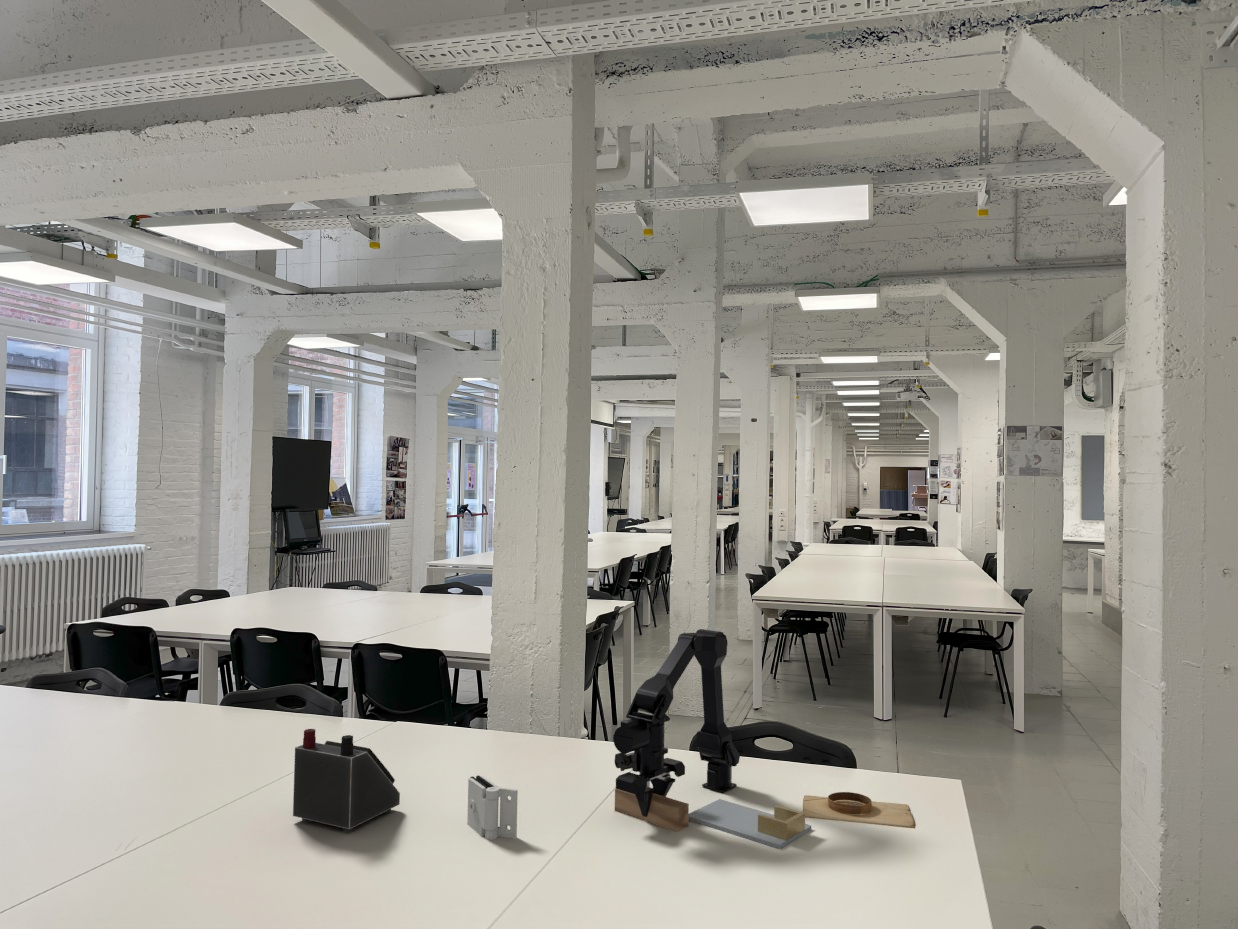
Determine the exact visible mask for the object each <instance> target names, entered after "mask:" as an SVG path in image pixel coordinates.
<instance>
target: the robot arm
mask: <svg viewBox="0 0 1238 929" xmlns="http://www.w3.org/2000/svg"><path fill="white" fill-rule="evenodd" d="M727 652H728V638H727V635H726V634H725V633H724V632H722V631H719V630H711V629H710V630H709V629H703V628H699V629H697V630H696V632H683V633H680V634H679V635H678V637H677V642H676V643H675V645H674V647H673V648H672V650H671V651H670V653H669V655H668V656H666V657H667V658H666V659H665V660H664V662H663V663H662V665H661V666H660V668H659V669H658V671H657V672H656V674H655V675H653V676H652V677H650V678H649V679H645V681H644V682H643V683H642V684H641V685H640V686H639V687H638V689H637V690H636V693H635V694H634V696H633V699H632V701H631V703H630V706H629V708H628V711H627V712H626V713H627V714H626V715H625V717H626V719H623V720H620V726H619V727H617V728H616V729H615V731H614V734H613V736H612V737H613V738H612V741H613V745H614V746H615V749H616V750H617V751H618V752H617V753H615V755H614V765H615V767H616V769H620V772H624V771H625V770H629V769H632V772H630V771H628V772H625V773H623V774H620V775H618V776H617V777H616V778H615V789H619V790H622V791H626V792H629V793H632V794H635V796H636V798H637V801H638V804H639V807H640V810H641V813H642V816H644V817H647V815H648V812H649V808H650V804H651V800H652V796H653V793H654V794H658V795H661V796H664V797H667V795H668V794H669V792H670V790H671V788H672V786H673V785H674V783H676V779H675V778H673V777H672V775H671V774H670V773H671V772H673V773H674V775H675V777H677V778H680V777H682V776H684V775H686V766H685V764H684V763H683V761H681V760H677V759H673V758H670V757H665V755H666V754H669V748H668V747H665V723H666V722H669V721H671V717H669V715H667V714H666V713H667V712H668V711H669V709H670V707H671V704H672V702H673V701H674V688H675V686H676V684H677V683H678V681H679V680H680V679H681V677H682V675H683V673H684V672H685V670H686V668H687V667H688V665H689V664H690V662H691V661H692V659H693V658H695V660H697V662H698V665H699V666H700V669H701V670H700V672H701V689H702V690H701V691H702V704H703V707H702V708H703V725H702V726H701V728H700V729H699V730H698V731H697V732H696V740H697V743H696V748H698V752H699V753H698V754H699V758H700V761H705V762H707V767H706V768H707V770H706V782H704V783H703V784H701V787H703V788H706V789H709V790H713V791H715V792H716V791H717V792H720V793H725V792H728V791H730V790H732V789H734V788H736V787H737V783H735V782H733V781H732V780H733V776H732V774H733V772H732V769H733V767H737V766H738V764H739V762H740V757H741V754H740V752H739V751H738V749H737V748H736V747H735V745H734V743H733V738H732V733H731V731H730V729H729V727H728V725H727V724H726V723H725V715H724V700H723V699H724V698H723V696H724V695H723V683H722V682H723V680H722V678H723V676H722V664H723V662H724V661H725V659H726V657H727V654H728V653H727ZM647 713H648V714H647ZM634 772H635V773H634ZM637 772H638V773H639V774H637ZM650 783H651V784H650ZM651 786H652V787H651Z"/></svg>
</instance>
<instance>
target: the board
mask: <svg viewBox="0 0 1238 929" xmlns="http://www.w3.org/2000/svg"><path fill="white" fill-rule="evenodd" d="M802 812H803V813H805V819H816V820H827V821H835V822H836V821H837V822H846V823H847V822H848V823H855V824H865V825H866V824H868V825H876V826H877V825H878V826H887V827H894V828H895V827H897V828H906V829H907V828H908V829H916V824H915V820H914V817H913V814H912V812H911V811H910V807H909V805H908V804H905V803H896V802H895V803H894V802H885V801H884V802H883V801H872V799H871V798H870V797H869V796H867V795H864V794H863V793H858V792H850V791H839V792H833V793H831V794H829V795H828V796H818V795H807V794H805V795H803V799H802Z"/></svg>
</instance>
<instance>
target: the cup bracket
mask: <svg viewBox="0 0 1238 929" xmlns="http://www.w3.org/2000/svg"><path fill="white" fill-rule="evenodd" d="M773 811H774V812H773V815H774V818H773V817H769V816H766V815H762V814H759V815H758V832H760V833H764V834H767V835H770V836H773V837H777V838H780V839H783V840H786V841H787V840H789V839H790V838H792V837H794V836H795V835H797V834H799V833H800V832H802V831H803V830H805V824H806V818H805V813H803V811H802V812H801V811H799V810H795V809H793V808H789V807H784V806H781V805H774V807H773Z"/></svg>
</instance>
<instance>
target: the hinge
mask: <svg viewBox="0 0 1238 929" xmlns="http://www.w3.org/2000/svg"><path fill="white" fill-rule="evenodd" d="M467 781H468V782H467V788H468V789H467V826H468V827H469V828H471V829H472V830H473V831H475V833H477V834H478V835H479V836H481V837H483V836H484V838H485V839H486V840H496V839H498V837H501V838H506V839H507V838H508V839H512V840H513V839H514V840H515V839H517V836H518V835H517V834H518V832H517V831H518V793H519V792H518V791H519V790H518V789H515V788H507V787H503V786H498V785H497V784H495V783H494V782H492V781H491V780H490V779H488V778H486V777H485V776H484V775H478V774H477V775H476V776H475V777H474V776H470V777H468V780H467ZM509 797H510V799H509ZM508 827H510V829H509V828H508Z"/></svg>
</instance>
